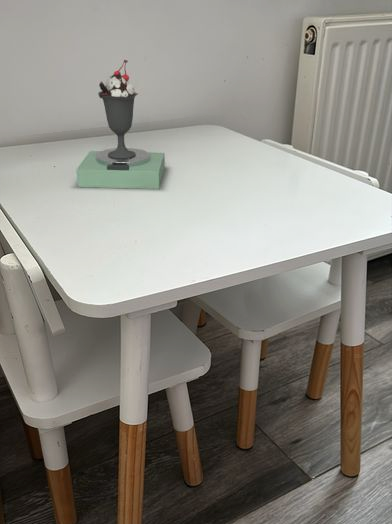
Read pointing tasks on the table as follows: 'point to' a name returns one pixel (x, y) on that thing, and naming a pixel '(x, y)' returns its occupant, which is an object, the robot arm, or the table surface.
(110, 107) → the sundae
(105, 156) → the scale pan
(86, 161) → the scale
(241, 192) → the table surface
